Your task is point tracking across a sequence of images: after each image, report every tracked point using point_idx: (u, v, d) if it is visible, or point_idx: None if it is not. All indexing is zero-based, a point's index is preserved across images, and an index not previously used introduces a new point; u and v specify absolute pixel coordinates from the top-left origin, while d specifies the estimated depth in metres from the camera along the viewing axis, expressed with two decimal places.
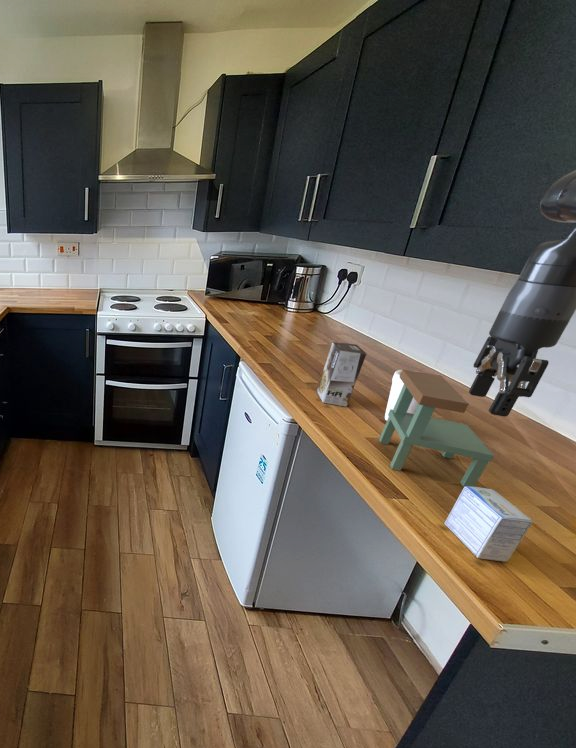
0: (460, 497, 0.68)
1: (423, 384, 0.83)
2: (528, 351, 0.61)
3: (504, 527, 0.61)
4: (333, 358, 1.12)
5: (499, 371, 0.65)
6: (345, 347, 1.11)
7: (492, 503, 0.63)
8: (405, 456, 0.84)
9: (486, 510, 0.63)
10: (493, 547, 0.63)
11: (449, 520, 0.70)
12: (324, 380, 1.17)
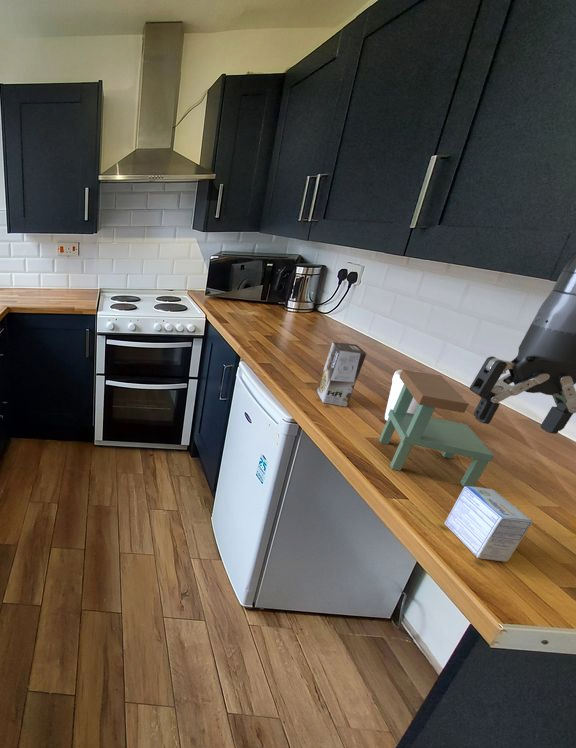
0: (460, 497, 0.68)
1: (423, 384, 0.83)
2: (519, 358, 0.59)
3: (504, 527, 0.61)
4: (333, 358, 1.12)
5: None
6: (345, 347, 1.11)
7: (492, 503, 0.63)
8: (405, 456, 0.84)
9: (486, 510, 0.63)
10: (493, 547, 0.63)
11: (449, 520, 0.70)
12: (324, 380, 1.17)
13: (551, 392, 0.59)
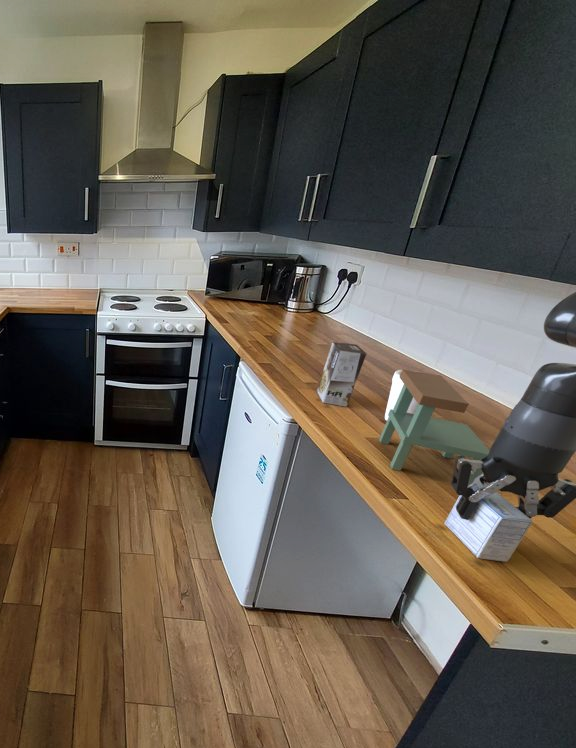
0: (460, 497, 0.68)
1: (423, 384, 0.83)
2: (488, 457, 0.62)
3: (504, 527, 0.61)
4: (333, 358, 1.12)
5: (484, 477, 0.65)
6: (345, 347, 1.11)
7: (492, 503, 0.63)
8: (405, 456, 0.84)
9: (486, 510, 0.63)
10: (493, 547, 0.63)
11: (449, 520, 0.70)
12: (324, 380, 1.17)
13: (521, 493, 0.61)
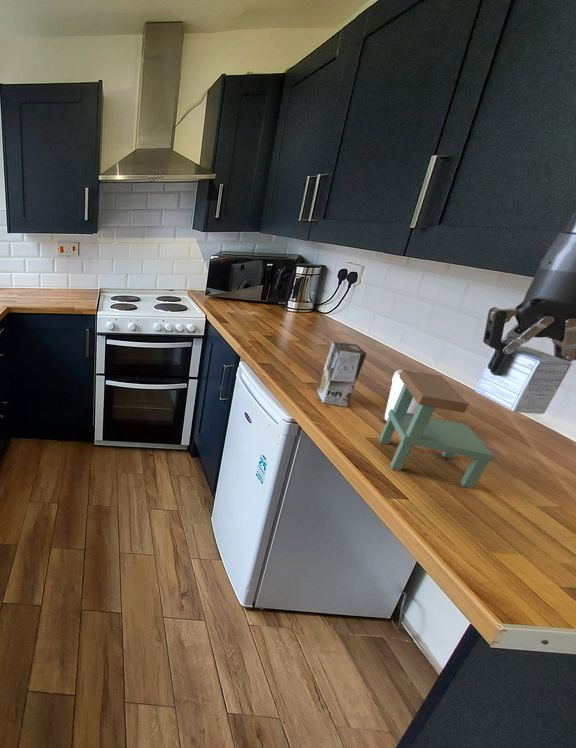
0: None
1: (423, 384, 0.83)
2: (524, 302, 0.60)
3: (542, 372, 0.59)
4: (333, 358, 1.12)
5: (518, 330, 0.63)
6: (345, 347, 1.11)
7: (528, 353, 0.61)
8: (405, 456, 0.84)
9: (522, 360, 0.61)
10: (530, 397, 0.61)
11: (480, 385, 0.68)
12: (324, 380, 1.17)
13: (558, 336, 0.59)
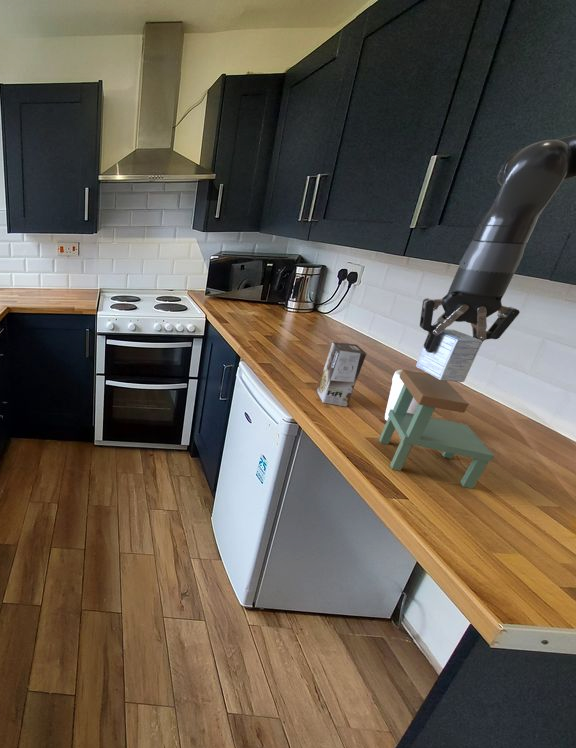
0: None
1: (423, 384, 0.83)
2: (448, 294, 0.77)
3: (460, 348, 0.76)
4: (333, 358, 1.12)
5: (446, 316, 0.80)
6: (345, 347, 1.11)
7: (451, 334, 0.78)
8: (405, 456, 0.84)
9: (447, 339, 0.78)
10: (452, 368, 0.78)
11: (419, 361, 0.85)
12: (324, 380, 1.17)
13: (473, 321, 0.76)
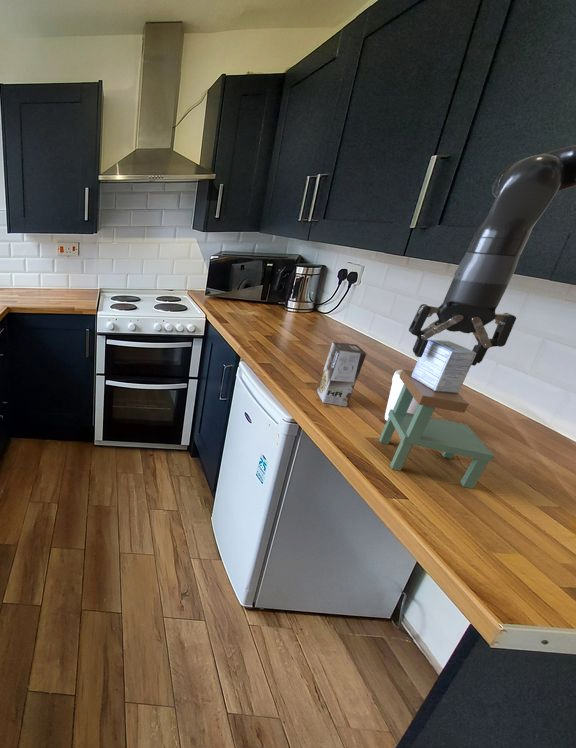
0: None
1: (423, 384, 0.83)
2: (443, 304, 0.78)
3: (454, 359, 0.77)
4: (333, 358, 1.12)
5: (437, 324, 0.81)
6: (345, 347, 1.11)
7: (446, 346, 0.79)
8: (405, 456, 0.84)
9: (441, 351, 0.79)
10: (446, 379, 0.79)
11: (415, 372, 0.86)
12: (324, 380, 1.17)
13: (468, 331, 0.77)
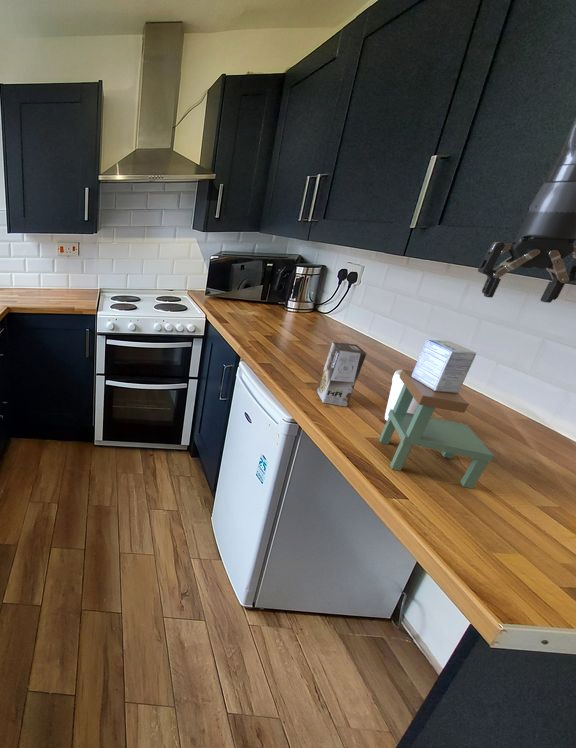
0: (423, 349, 0.84)
1: (423, 384, 0.83)
2: (516, 240, 0.76)
3: (454, 359, 0.77)
4: (333, 358, 1.12)
5: (509, 262, 0.79)
6: (345, 347, 1.11)
7: (446, 346, 0.79)
8: (405, 456, 0.84)
9: (441, 351, 0.79)
10: (446, 379, 0.79)
11: (415, 372, 0.86)
12: (324, 380, 1.17)
13: (544, 266, 0.75)
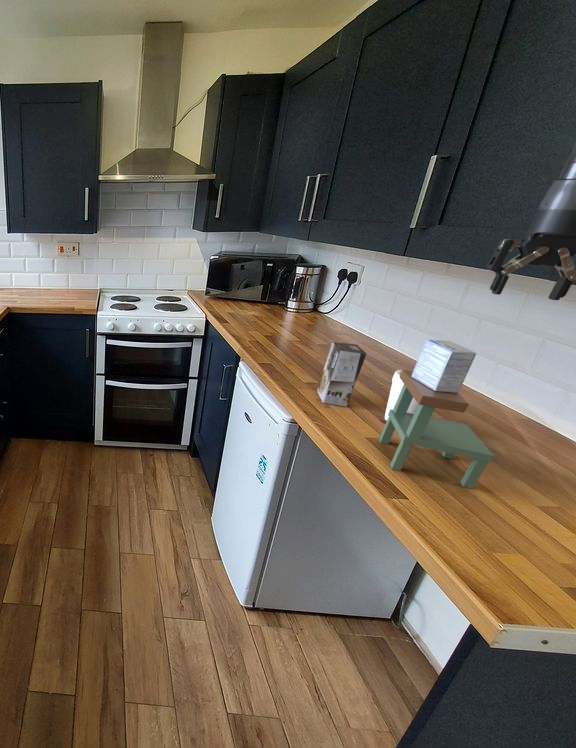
0: (423, 349, 0.84)
1: (423, 384, 0.83)
2: (526, 238, 0.77)
3: (454, 359, 0.77)
4: (333, 358, 1.12)
5: (518, 259, 0.80)
6: (345, 347, 1.11)
7: (446, 346, 0.79)
8: (405, 456, 0.84)
9: (441, 351, 0.79)
10: (446, 379, 0.79)
11: (415, 372, 0.86)
12: (324, 380, 1.17)
13: (552, 263, 0.76)
